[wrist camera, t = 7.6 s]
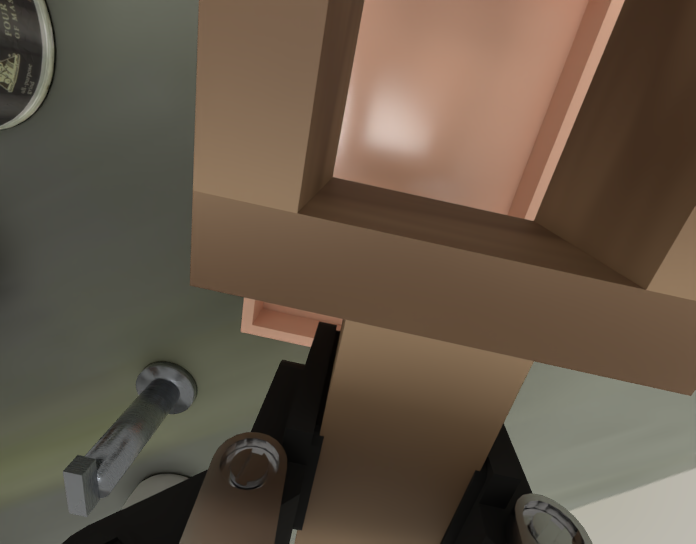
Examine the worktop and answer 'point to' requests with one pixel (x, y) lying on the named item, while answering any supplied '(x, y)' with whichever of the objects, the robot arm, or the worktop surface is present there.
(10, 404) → the worktop surface
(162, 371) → the grey piece
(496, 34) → the tray
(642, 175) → the brown square frame
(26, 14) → the coffee can
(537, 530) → the robot arm
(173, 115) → the worktop surface
